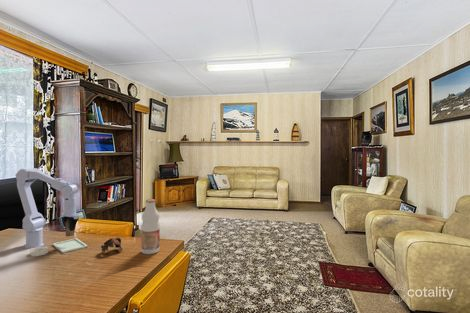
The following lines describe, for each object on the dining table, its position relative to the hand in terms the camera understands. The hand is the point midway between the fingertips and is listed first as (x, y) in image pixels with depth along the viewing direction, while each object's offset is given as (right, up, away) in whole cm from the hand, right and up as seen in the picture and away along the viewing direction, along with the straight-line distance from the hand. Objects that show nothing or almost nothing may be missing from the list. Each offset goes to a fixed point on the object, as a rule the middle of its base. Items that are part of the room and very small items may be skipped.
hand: (70, 229), depth 145 cm
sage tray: (0, -10, 0) cm, 10 cm away
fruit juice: (+47, -10, -5) cm, 48 cm away
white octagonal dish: (-9, -10, -10) cm, 17 cm away
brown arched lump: (+27, -10, -6) cm, 29 cm away
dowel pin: (0, -3, 0) cm, 3 cm away
